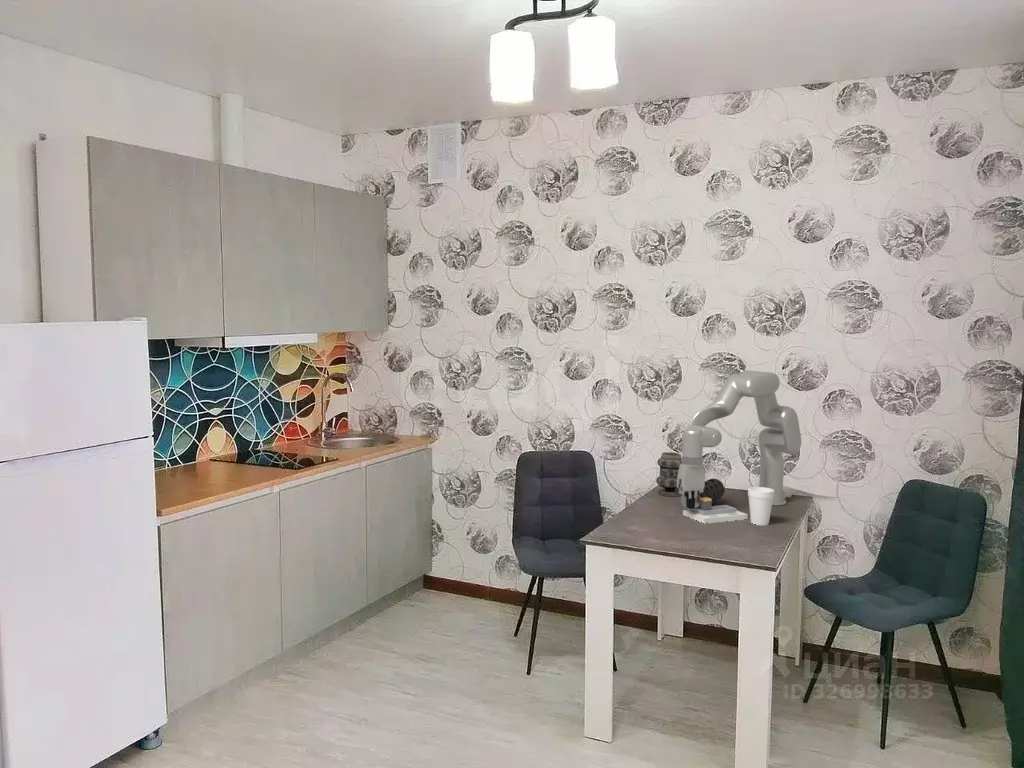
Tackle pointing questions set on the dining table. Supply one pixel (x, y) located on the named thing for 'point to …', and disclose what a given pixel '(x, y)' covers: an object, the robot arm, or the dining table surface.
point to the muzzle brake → (707, 492)
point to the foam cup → (760, 504)
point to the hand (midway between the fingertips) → (690, 508)
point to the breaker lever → (705, 503)
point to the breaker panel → (715, 514)
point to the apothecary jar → (669, 473)
